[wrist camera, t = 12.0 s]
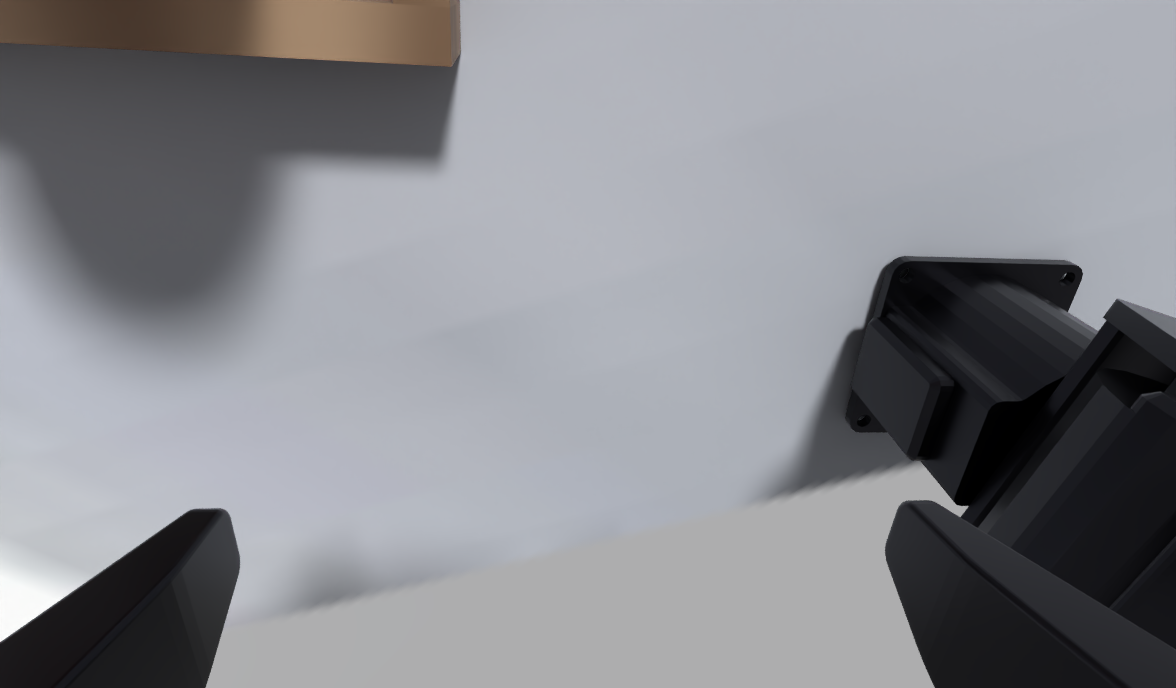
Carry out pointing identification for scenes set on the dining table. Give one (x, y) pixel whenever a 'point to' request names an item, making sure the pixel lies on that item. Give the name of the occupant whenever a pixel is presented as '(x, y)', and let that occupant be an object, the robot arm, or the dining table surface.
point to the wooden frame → (246, 27)
